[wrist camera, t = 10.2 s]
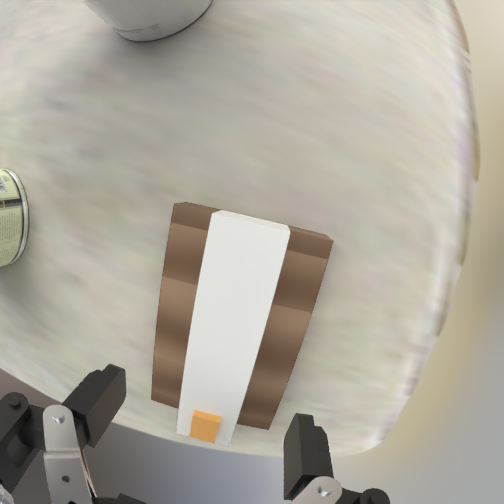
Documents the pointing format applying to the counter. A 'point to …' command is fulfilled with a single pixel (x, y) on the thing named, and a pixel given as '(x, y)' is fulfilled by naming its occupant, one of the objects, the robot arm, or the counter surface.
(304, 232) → the mounting board
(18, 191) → the coffee can
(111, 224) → the counter surface
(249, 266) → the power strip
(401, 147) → the counter surface
